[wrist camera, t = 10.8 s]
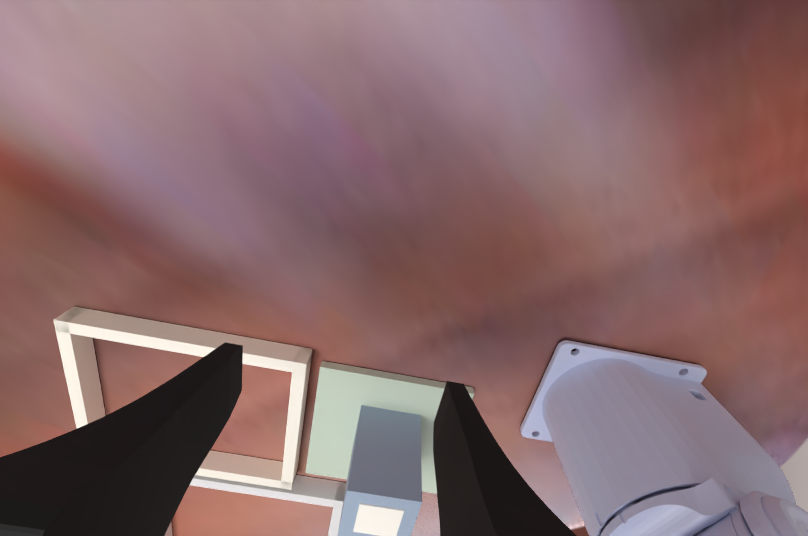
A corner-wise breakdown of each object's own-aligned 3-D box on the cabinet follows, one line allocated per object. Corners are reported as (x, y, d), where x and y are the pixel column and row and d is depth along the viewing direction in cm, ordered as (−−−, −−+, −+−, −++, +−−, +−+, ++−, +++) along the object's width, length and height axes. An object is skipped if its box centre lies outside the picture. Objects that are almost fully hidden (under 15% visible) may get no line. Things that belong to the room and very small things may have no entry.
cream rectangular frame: (312, 348, 25) (306, 364, 23) (297, 471, 29) (291, 489, 28) (74, 306, 24) (53, 319, 22) (98, 440, 29) (83, 457, 27)
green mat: (473, 387, 26) (474, 393, 25) (437, 486, 30) (437, 493, 29) (322, 360, 25) (320, 366, 24) (307, 465, 29) (305, 472, 29)
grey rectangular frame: (348, 483, 30) (345, 502, 28) (330, 568, 35) (327, 587, 33) (154, 452, 29) (142, 470, 28) (164, 544, 34) (153, 563, 32)
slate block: (420, 415, 26) (422, 504, 20) (408, 456, 28) (406, 548, 22) (361, 404, 26) (346, 492, 20) (352, 447, 27) (336, 538, 22)
